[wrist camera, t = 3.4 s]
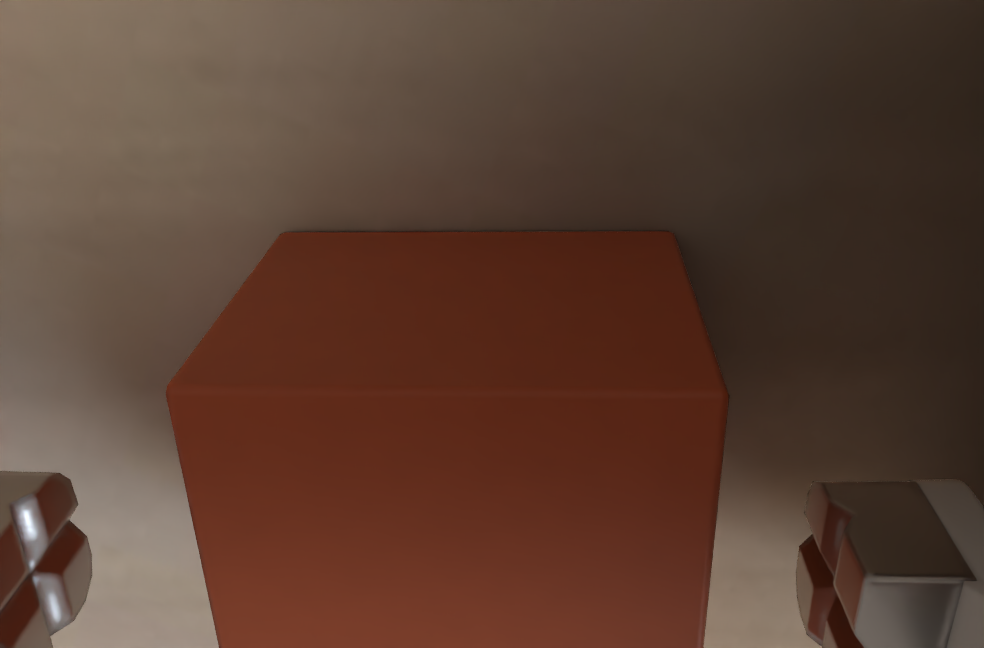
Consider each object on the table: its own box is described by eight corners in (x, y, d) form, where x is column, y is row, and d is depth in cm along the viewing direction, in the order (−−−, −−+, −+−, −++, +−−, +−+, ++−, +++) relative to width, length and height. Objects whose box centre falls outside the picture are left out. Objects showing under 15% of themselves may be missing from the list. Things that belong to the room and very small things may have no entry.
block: (675, 228, 11) (732, 392, 8) (653, 546, 14) (690, 788, 10) (278, 229, 12) (160, 387, 8) (321, 540, 14) (241, 772, 10)
